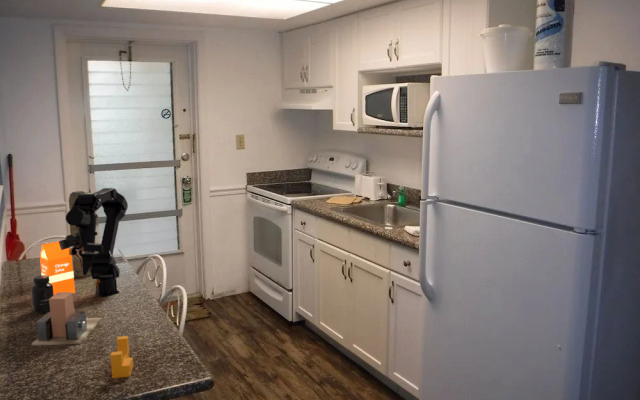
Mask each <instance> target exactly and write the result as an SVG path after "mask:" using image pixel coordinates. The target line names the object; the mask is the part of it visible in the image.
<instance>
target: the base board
mask: <svg viewBox="0 0 640 400" xmlns="http://www.w3.org/2000/svg"><path fill="white" fill-rule="evenodd" d="M102 320H103V319H102V317H92V318H91V317H88V318H87V317H86V323H87V330H86V331H85V332H84V333H83V334H82V335H81V336H80V337H79V339H78V340H67V339H66V337H53V338H52V339H51V340H50V341H39V340H38V337H37V338H36V339H35V340H34V341H33V342H31V346H53V345H59V346H60V345H79V344H82V342H83V341H84V340H85V339H86V338H87V336H88V335H89V334H90V333H91V332H92V331H94V329H95V328H96V327H97V326H98V324H99V323H100V322H101V321H102Z"/></svg>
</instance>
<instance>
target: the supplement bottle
mask: <svg viewBox="0 0 640 400" xmlns="http://www.w3.org/2000/svg"><path fill="white" fill-rule="evenodd" d="M49 281H50V280H49V276H48V275H37V276H34V277H33V285H32V286H31V289H30V290H31V302H32V303H31V304H32V310H33V312H34V313H35V314H47V313H48V312H50V304H49V299H50V298H51V297H52V296H54V291H53V285H52V284H51V283H49Z"/></svg>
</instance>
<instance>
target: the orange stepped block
mask: <svg viewBox="0 0 640 400" xmlns="http://www.w3.org/2000/svg"><path fill="white" fill-rule="evenodd" d="M116 343H117V346H116V351H112V352H111V353H110V356H109V357H110V365H111V366H110V367H111V378H112V379H118V378H128V377H129V378H130V377H131V374H132V371H133V368H134V358H133V357H131V356H130V344H129V335H123V336H117V339H116Z"/></svg>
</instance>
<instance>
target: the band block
mask: <svg viewBox="0 0 640 400" xmlns="http://www.w3.org/2000/svg"><path fill="white" fill-rule="evenodd" d="M86 315H87V314H86V310H78V311H75V312H74V315H73V316H72V317H71V318H70V319H69V320H67V323H66V324H65V328H66V339H67V340H78V339H79V337H80V336H81V335H82V334H83V333H84V332H85V331H86V330H87V323H86V318H87V316H86ZM36 329H37V338H38V340H39V341H50V340H51V339H52V338H53V333H52V323H51V313H50V312H47V313H45V314H44V315H43V316H42V317H41V318H39V320H37V321H36Z"/></svg>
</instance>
